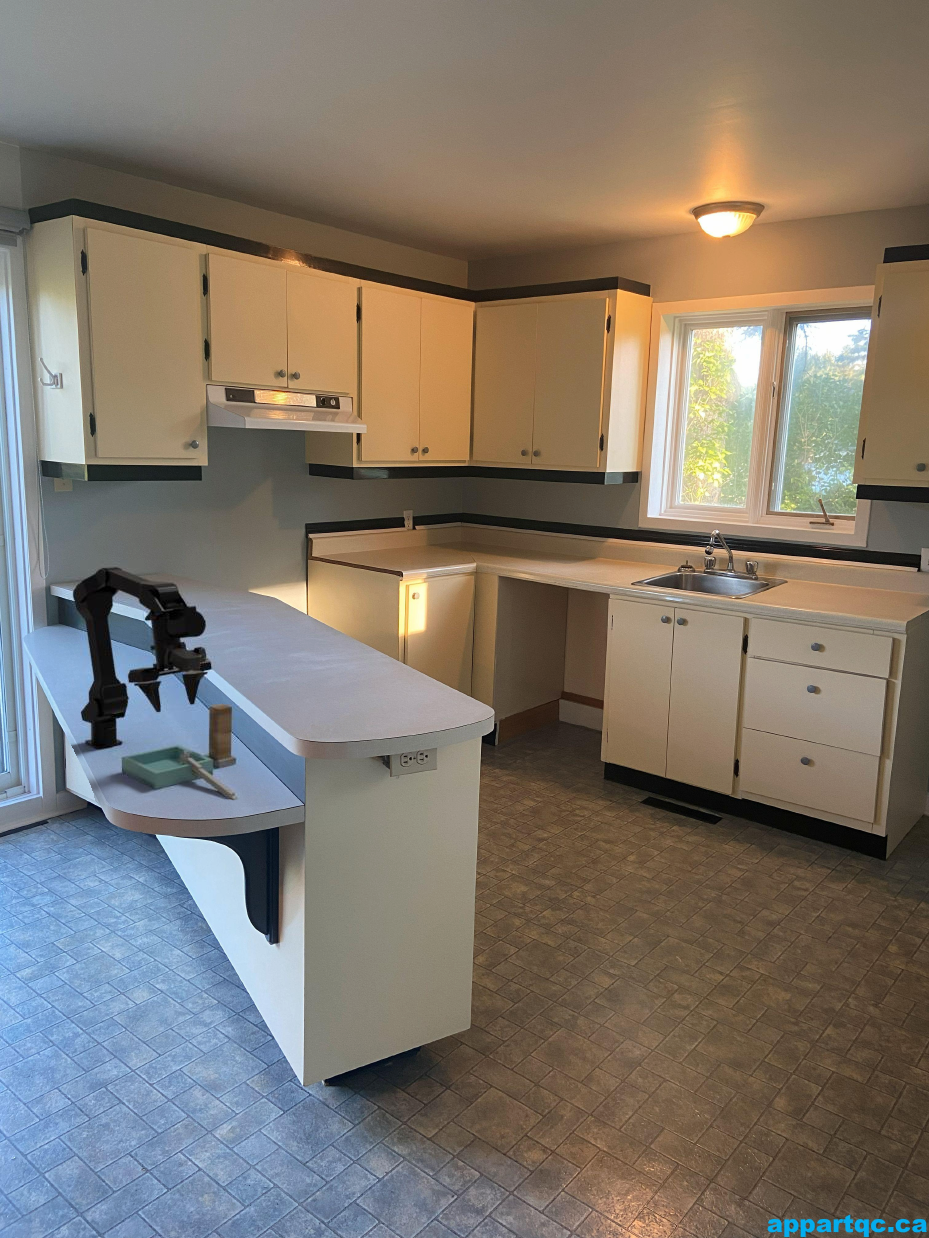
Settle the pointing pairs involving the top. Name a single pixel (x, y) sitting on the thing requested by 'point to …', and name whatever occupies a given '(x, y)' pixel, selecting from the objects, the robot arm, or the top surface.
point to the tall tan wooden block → (220, 735)
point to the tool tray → (163, 766)
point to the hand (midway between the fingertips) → (175, 708)
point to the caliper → (206, 775)
